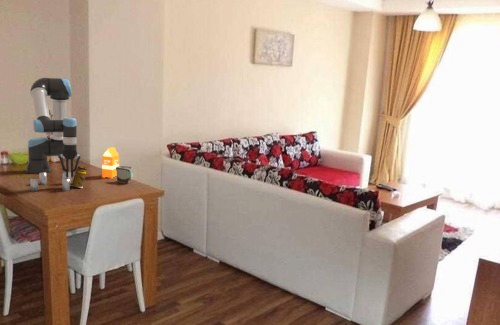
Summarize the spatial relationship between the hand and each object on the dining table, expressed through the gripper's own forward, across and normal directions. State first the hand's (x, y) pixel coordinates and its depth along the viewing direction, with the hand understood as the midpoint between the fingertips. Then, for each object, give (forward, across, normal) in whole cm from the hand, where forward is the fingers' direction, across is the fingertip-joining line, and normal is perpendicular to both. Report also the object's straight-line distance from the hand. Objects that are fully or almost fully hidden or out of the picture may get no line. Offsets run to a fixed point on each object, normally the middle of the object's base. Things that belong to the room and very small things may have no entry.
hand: (69, 182), depth 258 cm
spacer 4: (+3, -1, -7) cm, 8 cm away
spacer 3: (+3, -3, +9) cm, 10 cm away
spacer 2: (+3, -16, +9) cm, 19 cm away
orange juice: (+2, +22, +29) cm, 37 cm away
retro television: (+3, +33, +13) cm, 35 cm away
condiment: (+2, +3, 0) cm, 4 cm away
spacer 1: (+3, -18, -7) cm, 20 cm away
